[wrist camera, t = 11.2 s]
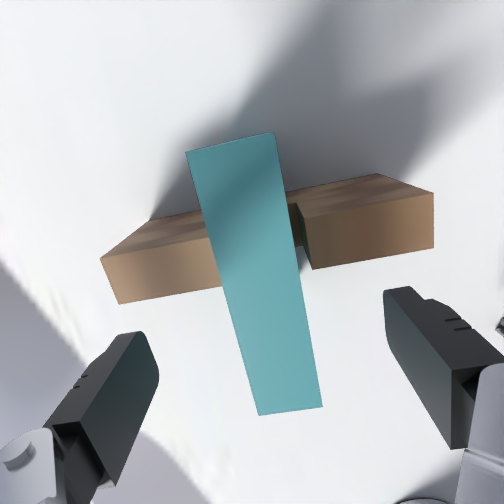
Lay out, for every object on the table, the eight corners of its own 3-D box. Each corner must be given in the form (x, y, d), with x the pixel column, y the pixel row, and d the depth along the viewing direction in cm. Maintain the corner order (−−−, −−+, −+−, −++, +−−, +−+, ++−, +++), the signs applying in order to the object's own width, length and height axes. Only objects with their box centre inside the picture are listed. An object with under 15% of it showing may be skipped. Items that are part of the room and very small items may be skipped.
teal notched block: (226, 141, 22) (185, 152, 10) (267, 132, 22) (273, 132, 10) (259, 286, 27) (258, 415, 14) (294, 280, 26) (322, 407, 14)
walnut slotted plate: (377, 173, 23) (433, 193, 15) (379, 212, 24) (433, 248, 16) (148, 220, 25) (99, 258, 17) (160, 254, 26) (118, 304, 18)
